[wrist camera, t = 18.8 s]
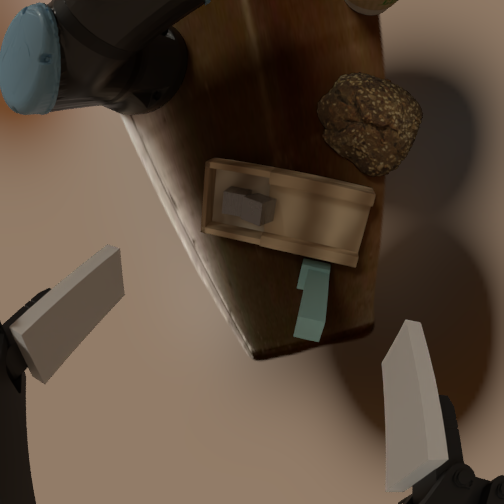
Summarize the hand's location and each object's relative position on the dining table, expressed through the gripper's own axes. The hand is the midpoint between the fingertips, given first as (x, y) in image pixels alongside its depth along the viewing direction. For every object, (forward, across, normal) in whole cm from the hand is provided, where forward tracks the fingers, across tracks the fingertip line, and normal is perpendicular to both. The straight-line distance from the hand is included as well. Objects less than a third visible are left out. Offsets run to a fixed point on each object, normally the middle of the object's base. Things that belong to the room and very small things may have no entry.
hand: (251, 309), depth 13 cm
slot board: (+30, -1, -6) cm, 30 cm away
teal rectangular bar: (+29, +5, -15) cm, 33 cm away
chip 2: (+27, -5, -6) cm, 28 cm away
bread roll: (+31, +6, +8) cm, 32 cm away
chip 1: (+28, -8, -6) cm, 30 cm away
